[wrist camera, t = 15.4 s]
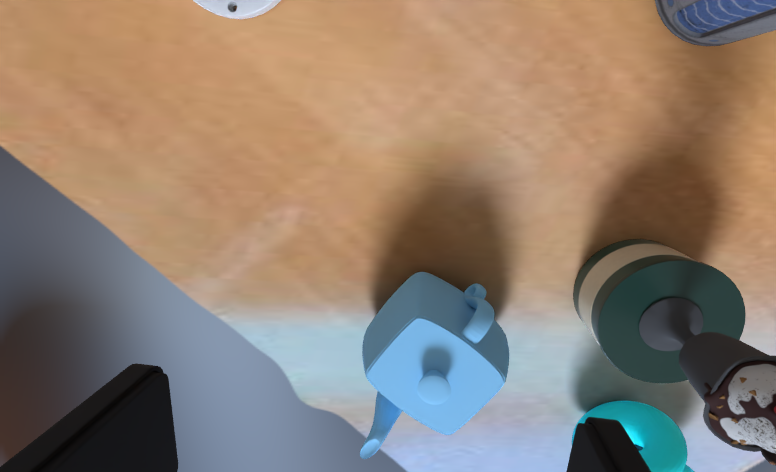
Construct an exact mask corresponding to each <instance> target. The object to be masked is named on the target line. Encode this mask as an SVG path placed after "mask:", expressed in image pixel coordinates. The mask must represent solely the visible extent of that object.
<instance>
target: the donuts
mask: <svg viewBox="0 0 776 472" xmlns="http://www.w3.org/2000/svg"><path fill="white" fill-rule="evenodd" d="M588 417H596V418H604V419H613V420H617V421H619V422H620V423H621V424H622V426H623V427H624V429H625V430H626V432H627V434H628V435H629V437H630V438H631V440H632V442H633V443H634V444H635V445H639V446H641V447H643V449H642V450H638V451H639V453H640V454H641V456H642V458H643V459H644V461H645V462H646V464H647V465H648V467H649V469H650V470H651V472H694V471H693V470H692V469H691V468H690V467H688V466H687V465H686V461H687V445H686V441H685V438H684V436H683V434H682V432H681V430H680V429H679V427H678V426H677V425H676V423H675V422H674V421H673V420H672V419H671V418H670V417H669V416H667V415H666V414H665V413H663V412H662V411H660V410H658V409H657V408H655V407H653V406H650V405H647V404H644V403H640V402H636V401H612V402H608V403H604V404H601V405H599V406H596V407H595V408H593V409H591V410H590V411H588V412H587V413H586V414H585V415H584V416H583V417H582V418H581V419H580V420H579V421H578V423H585V420H586V419H587V418H588ZM578 423H577V425H578ZM577 425H576V426H575V429H574V432H573V436H572V445H573V440H574V435H575V431H576V427H577Z"/></svg>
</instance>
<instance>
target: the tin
mask: <svg viewBox="0 0 776 472" xmlns="http://www.w3.org/2000/svg"><path fill="white" fill-rule="evenodd" d="M667 298H682V299H686V300H689V301H691V302H692V303H694V304H695V305H696V306H697V307H698V308H699V309H700V311H701V313H702V315H703V327H702V330H701V332H700V333H705V332H716V333H721V334H724V335H727V336H730V337H732V338H735V339H737V340H739V339H740V337H741V334H742V332H743V328H744V324H745V306H744V302H743V298H742V296H741V294H740V291H739V290H738V288H737V287H736V285H735V284H734V283H733V282H732V281H731V279H730V278H729V277H727V276H726V275H725V274H724V273H722V272H721V271H719V270H717V269H716V268H714V267H712V266H709V265H707V264H705V263H702V262H698V261H696V260H694V259H692V258H690V257H688V256H686V255H684V254H682V253H680V252H679V251H677V250H674V249H672V248H670V247H667V246H665V245H663V244H661V243H658V242H655V241H651V240H644V239H633V240H625V241H621V242H617V243H614V244H611V245H609V246H607V247H605V248H603V249H602V250H600V251H598V252H597V253H596V254H595V255H593V256H592V257H591V258H590V259H589V260H588V261H587V262H586V263H585V265H584V266H583V267H582V269H581V270H580V272H579V274H578V276H577V279H576V281H575V285H574V292H573V299H574V305H575V308H576V311H577V313H578V315H579V317H580V319H581V320H582V321H583V323H584V325H585V326H586V328H587V329H588V330H589V332H590V333H591V334H592V336H593V337H594V338H595V340H596V341H597V342H598V344H599V345H600V347H601V349H602V351H603V353H604V354H605V355H606V357H607V358H608V360H609V361H610V362H611V363H612V364H613V365H614V366H615V367H616V368H618V369H619V370H620V371H621V372H623V373H625V374H627V375H628V376H631V377H633V378H635V379H638V380H642V381H646V382H652V383H675V382H681V381H685V380H688V378H687V377H686V375H685V373H684V372H683V370H682V368H681V367H680V365H679V354H680V351H681V349H680V350H675V351H661V350H657V349H654V348H652V347H650V346H649V345H647V344H646V343H645V342H644V340H643V339H642V337H641V335H640V332H639V323H640V320H641V317H642V315H643V313H644V312H645V311H646V310H647V309H648V308H649V307H650V306H651V305H652V304H654V303H656V302H658V301H660V300H662V299H667Z"/></svg>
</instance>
